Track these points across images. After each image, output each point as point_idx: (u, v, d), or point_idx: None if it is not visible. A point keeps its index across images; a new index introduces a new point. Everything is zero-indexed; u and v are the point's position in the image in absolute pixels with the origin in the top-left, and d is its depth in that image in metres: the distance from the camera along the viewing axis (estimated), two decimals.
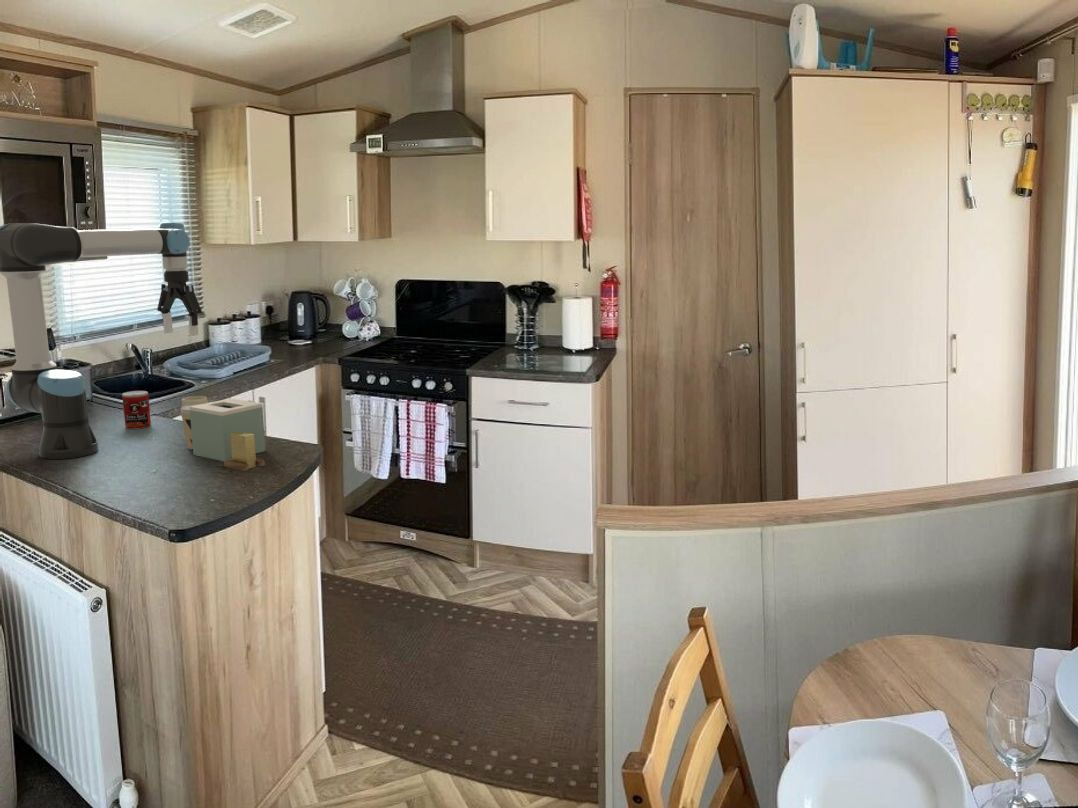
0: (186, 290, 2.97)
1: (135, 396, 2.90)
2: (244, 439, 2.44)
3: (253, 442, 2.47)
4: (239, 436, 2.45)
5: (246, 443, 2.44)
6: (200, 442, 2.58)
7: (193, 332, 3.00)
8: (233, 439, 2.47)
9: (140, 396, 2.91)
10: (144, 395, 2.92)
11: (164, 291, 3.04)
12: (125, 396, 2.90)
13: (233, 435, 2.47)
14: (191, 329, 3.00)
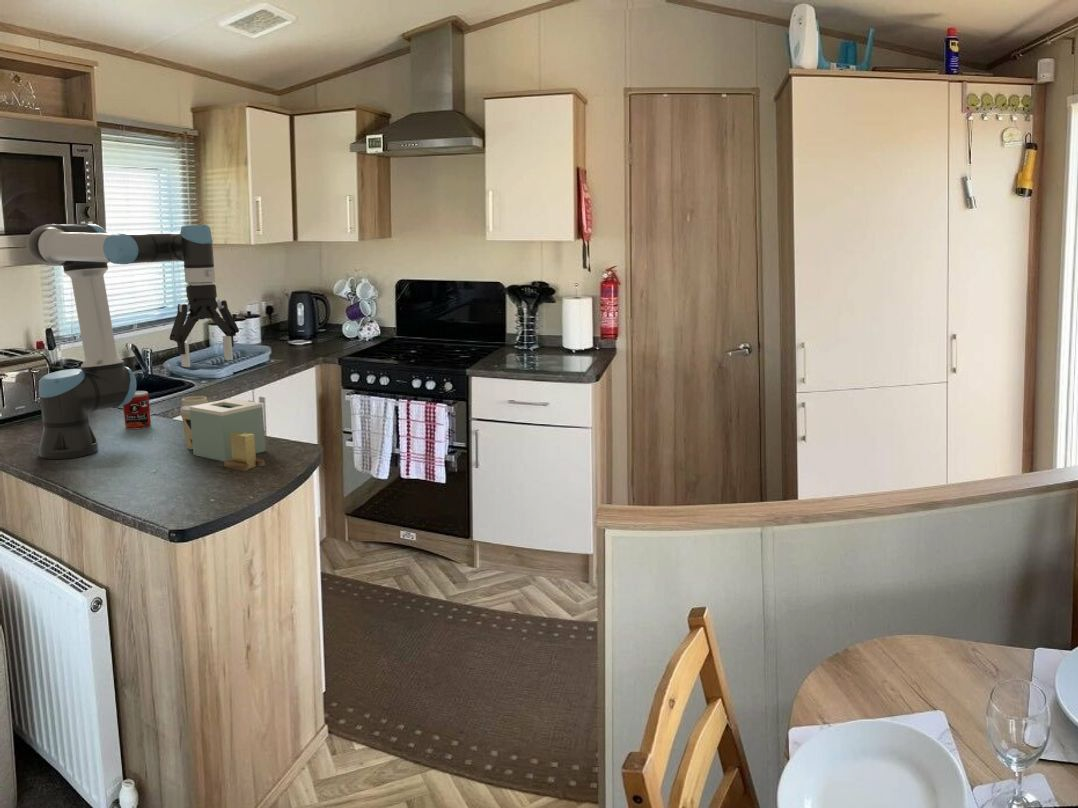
0: None
1: (135, 396, 2.90)
2: (244, 439, 2.44)
3: (253, 442, 2.47)
4: (239, 436, 2.45)
5: (246, 443, 2.44)
6: (200, 442, 2.58)
7: (183, 362, 2.41)
8: (233, 439, 2.47)
9: (140, 396, 2.91)
10: (144, 395, 2.92)
11: (219, 309, 2.50)
12: None
13: (232, 435, 2.47)
14: (181, 358, 2.41)
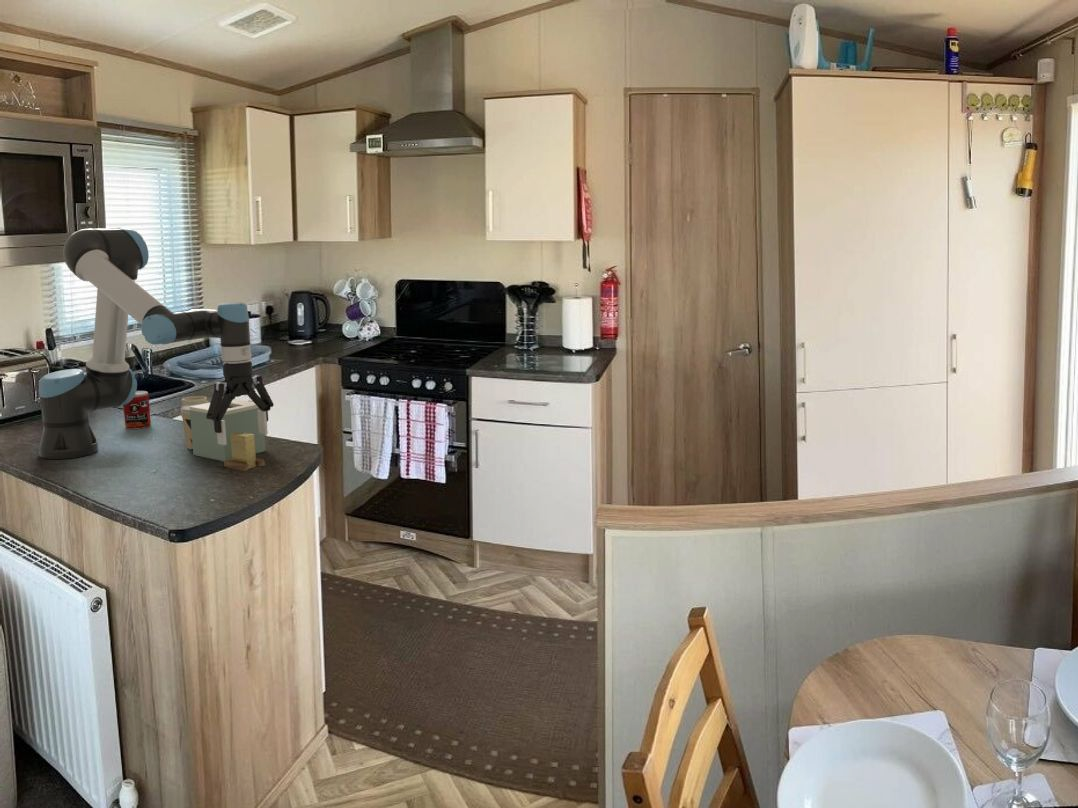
0: None
1: (135, 396, 2.90)
2: (244, 439, 2.44)
3: (253, 442, 2.47)
4: (239, 436, 2.45)
5: (246, 443, 2.44)
6: (200, 442, 2.58)
7: (219, 440, 2.41)
8: (233, 439, 2.47)
9: (140, 396, 2.91)
10: (144, 395, 2.92)
11: (254, 384, 2.49)
12: None
13: (233, 435, 2.47)
14: (218, 436, 2.41)
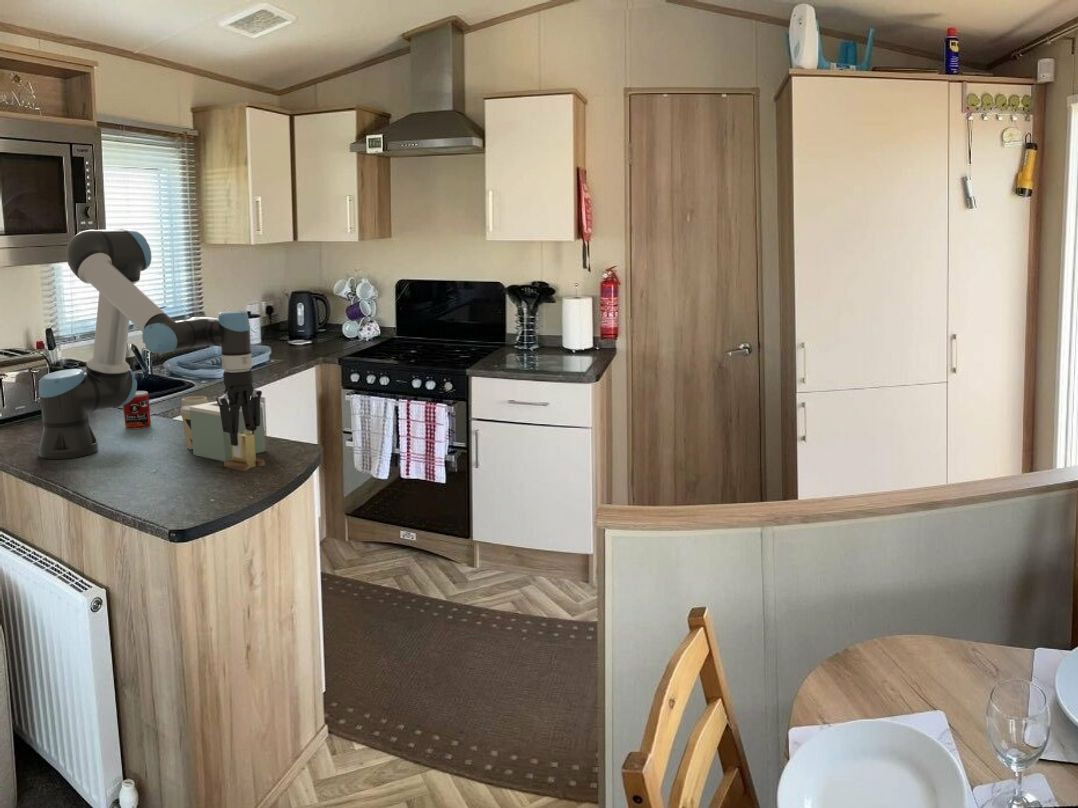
0: None
1: (135, 396, 2.90)
2: (244, 439, 2.44)
3: (253, 442, 2.46)
4: None
5: (246, 443, 2.44)
6: (200, 442, 2.58)
7: (235, 452, 2.46)
8: None
9: (140, 396, 2.91)
10: (144, 395, 2.92)
11: (251, 398, 2.49)
12: None
13: None
14: (234, 448, 2.46)
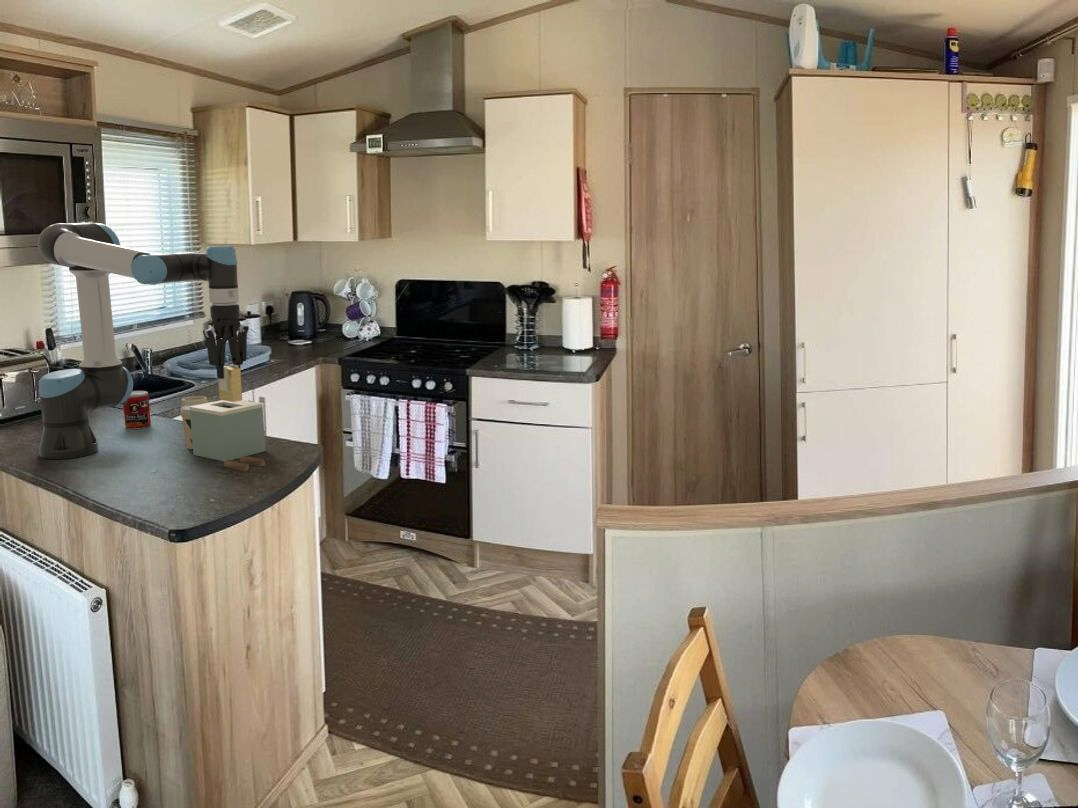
0: None
1: (135, 396, 2.90)
2: (230, 372, 2.48)
3: (239, 376, 2.51)
4: None
5: (232, 376, 2.49)
6: (200, 442, 2.58)
7: (221, 386, 2.50)
8: None
9: (140, 396, 2.91)
10: (144, 395, 2.92)
11: (238, 333, 2.53)
12: None
13: None
14: (220, 382, 2.51)
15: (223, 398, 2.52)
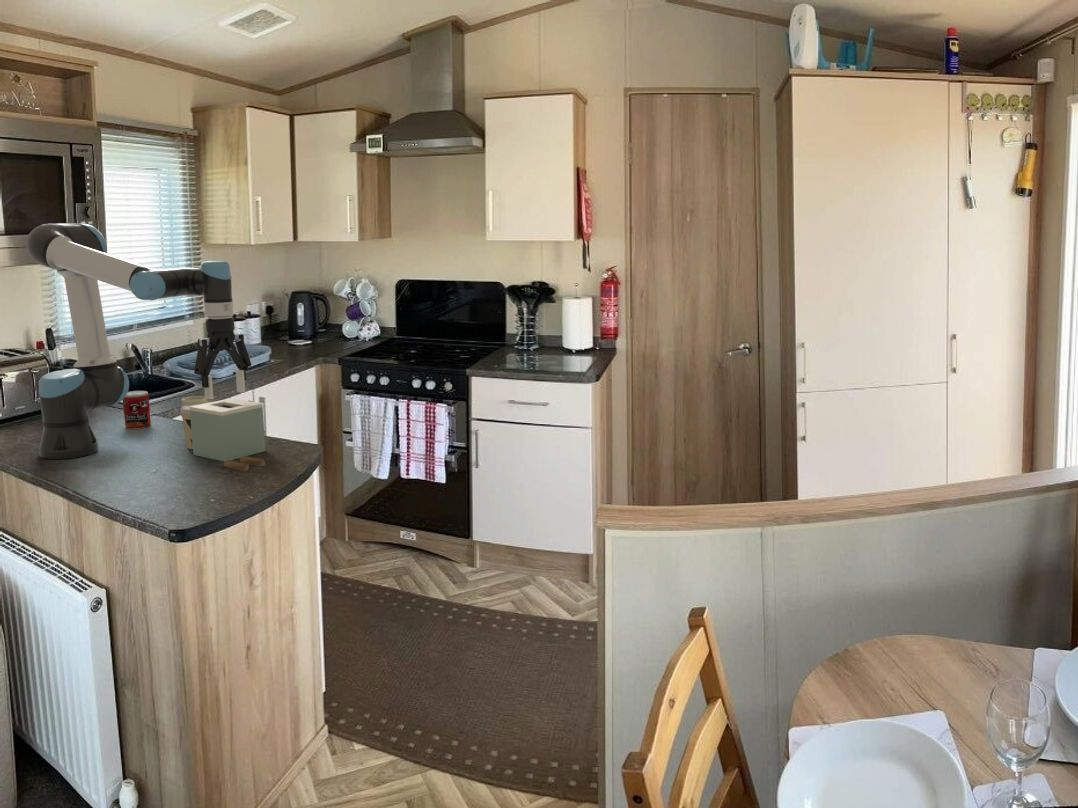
0: None
1: (135, 396, 2.90)
2: None
3: None
4: None
5: None
6: (200, 442, 2.58)
7: (206, 394, 2.54)
8: None
9: (140, 396, 2.91)
10: (144, 395, 2.92)
11: (236, 342, 2.61)
12: (125, 396, 2.90)
13: None
14: (205, 390, 2.54)
15: None
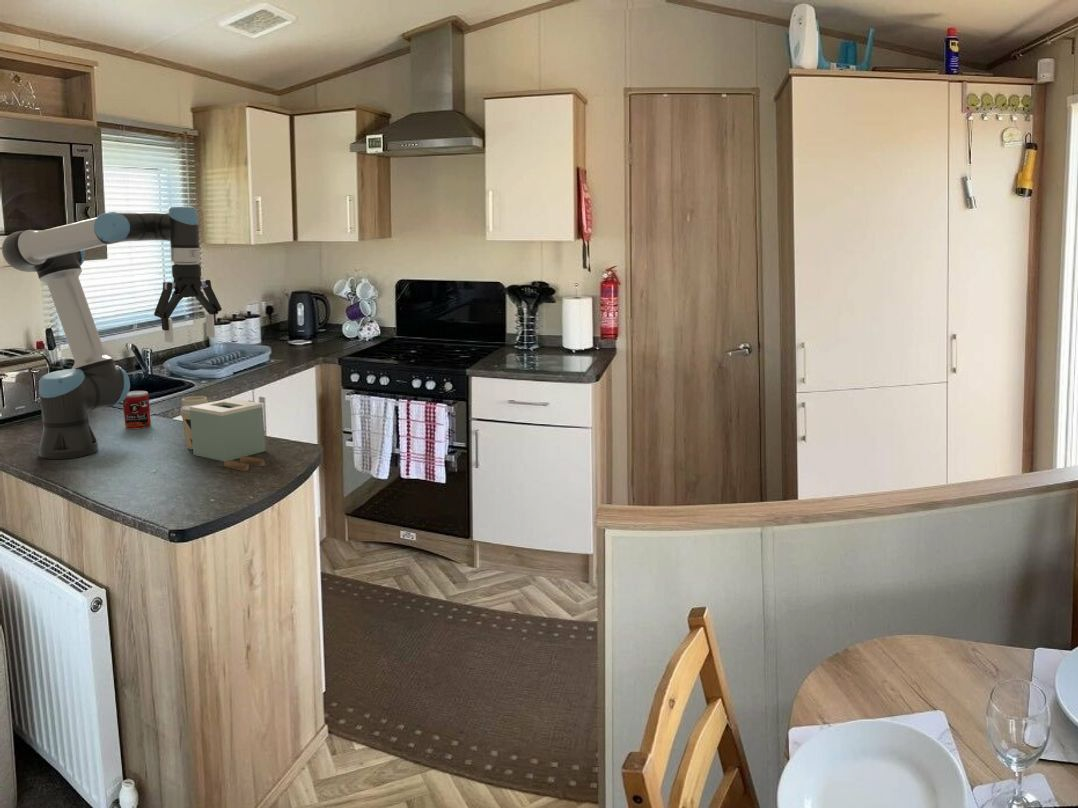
0: None
1: (135, 396, 2.90)
2: None
3: None
4: None
5: None
6: (200, 442, 2.58)
7: (166, 338, 2.51)
8: None
9: (140, 396, 2.91)
10: (144, 395, 2.92)
11: (203, 288, 2.60)
12: None
13: None
14: (165, 334, 2.52)
15: None
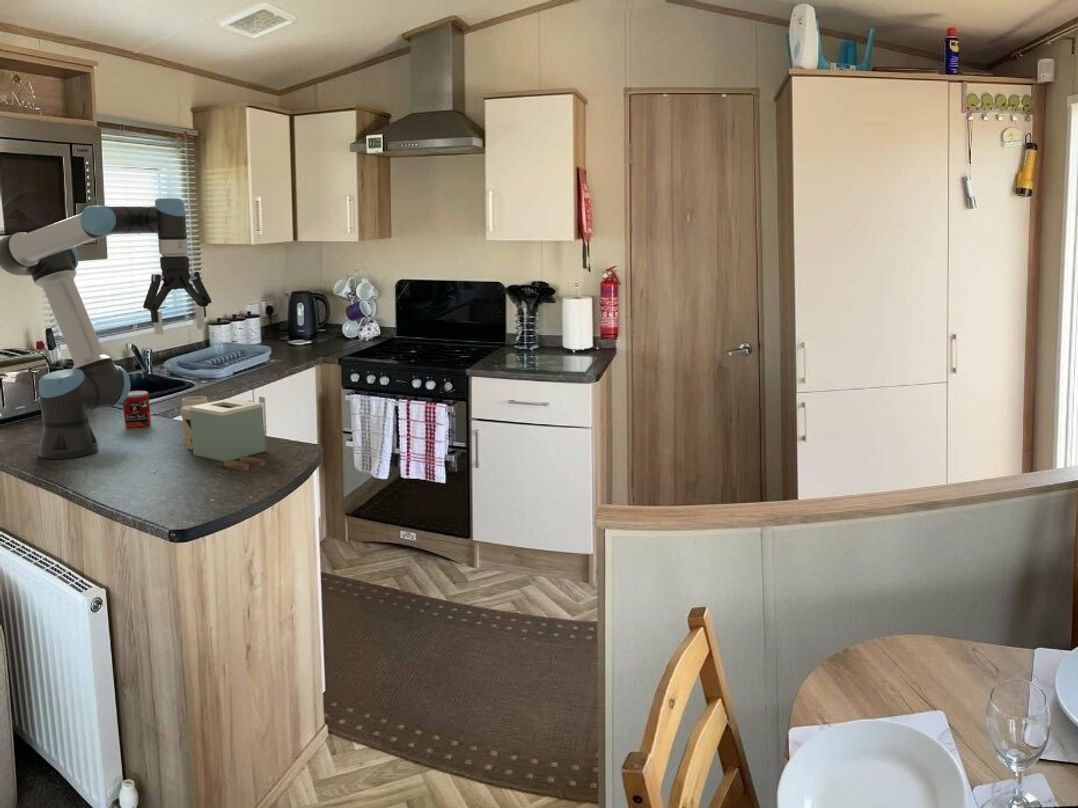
0: None
1: (135, 396, 2.90)
2: None
3: None
4: None
5: None
6: (200, 442, 2.58)
7: (156, 330, 2.51)
8: None
9: (140, 396, 2.91)
10: (144, 395, 2.92)
11: (192, 280, 2.60)
12: None
13: None
14: (155, 326, 2.51)
15: None
